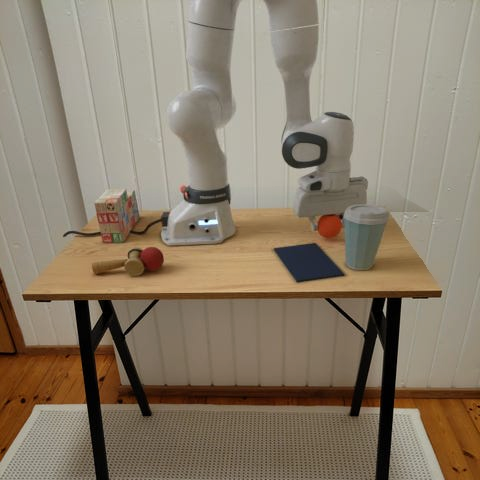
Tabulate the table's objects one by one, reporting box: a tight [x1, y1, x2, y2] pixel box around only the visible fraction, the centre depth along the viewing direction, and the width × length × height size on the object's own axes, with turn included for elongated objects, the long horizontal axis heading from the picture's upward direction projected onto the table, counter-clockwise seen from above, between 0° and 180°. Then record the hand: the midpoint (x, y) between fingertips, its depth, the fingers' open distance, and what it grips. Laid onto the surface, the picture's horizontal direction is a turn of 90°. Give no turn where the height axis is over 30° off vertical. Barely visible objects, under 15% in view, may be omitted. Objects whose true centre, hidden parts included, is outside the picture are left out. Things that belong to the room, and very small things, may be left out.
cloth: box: [273, 242, 345, 283], centre depth 117 cm, size 12×20×1 cm, turn 13°
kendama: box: [91, 246, 165, 277], centre depth 115 cm, size 8×6×18 cm
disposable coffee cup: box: [343, 203, 390, 271], centre depth 110 cm, size 11×11×15 cm
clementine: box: [316, 214, 343, 239], centre depth 127 cm, size 8×7×7 cm
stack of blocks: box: [94, 188, 140, 244], centre depth 139 cm, size 21×6×12 cm, turn 178°
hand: (328, 228), depth 128 cm, fingers closed on clementine, 7 cm apart
